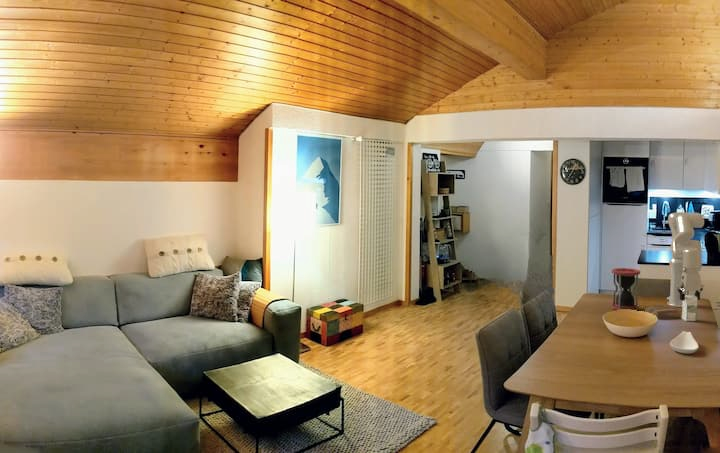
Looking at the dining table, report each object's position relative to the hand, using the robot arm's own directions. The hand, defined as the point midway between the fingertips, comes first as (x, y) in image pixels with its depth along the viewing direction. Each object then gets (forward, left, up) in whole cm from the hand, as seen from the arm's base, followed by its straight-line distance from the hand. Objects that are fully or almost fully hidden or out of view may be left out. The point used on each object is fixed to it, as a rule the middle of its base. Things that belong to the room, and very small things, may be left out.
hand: (689, 299), depth 305 cm
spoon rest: (+42, -39, -13) cm, 59 cm away
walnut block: (-13, -9, -13) cm, 20 cm away
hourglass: (-33, -18, -12) cm, 39 cm away
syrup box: (-1, 0, -12) cm, 12 cm away
